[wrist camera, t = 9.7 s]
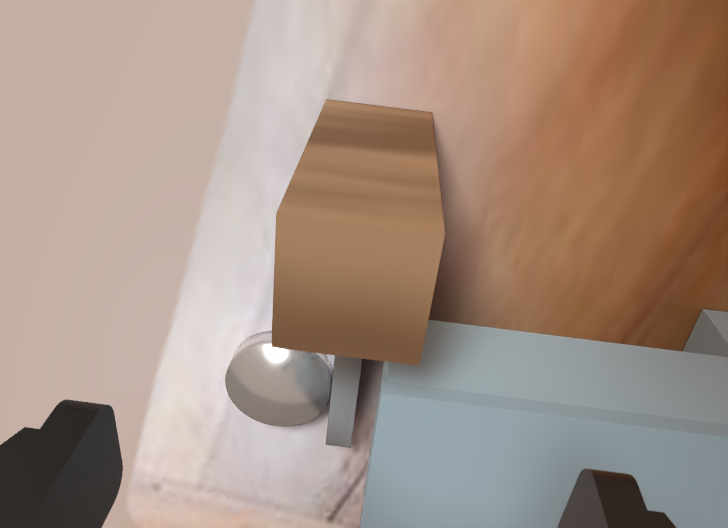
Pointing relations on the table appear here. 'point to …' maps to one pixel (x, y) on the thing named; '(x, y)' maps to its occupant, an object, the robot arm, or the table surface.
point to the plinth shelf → (547, 427)
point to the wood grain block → (359, 246)
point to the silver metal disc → (278, 382)
